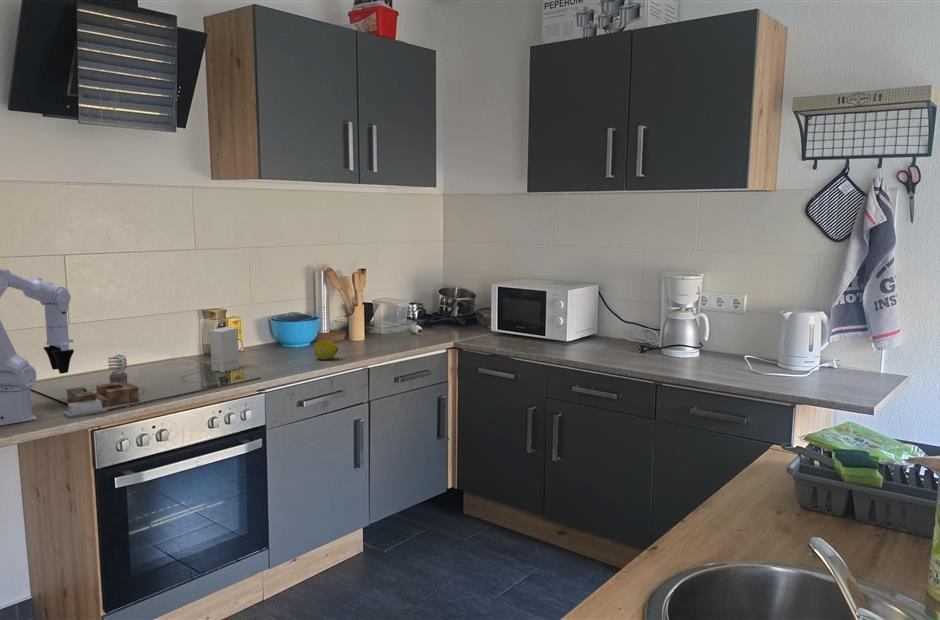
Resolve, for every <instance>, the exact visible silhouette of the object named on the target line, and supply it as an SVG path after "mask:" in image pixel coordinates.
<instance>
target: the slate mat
mask: <svg viewBox="0 0 940 620" xmlns="http://www.w3.org/2000/svg"><path fill="white" fill-rule="evenodd" d="M107 412H108V410H107V408H106V407H102V410H98V411H92V412H85V413H79V414H70V413H69V412H68V410H67V411H63V412H62V414H63V416H64V417H66V418H67V419H69V420H71V419H74V418H75V419H77V418H81V417H87V416H94V415H93V414H95V415H100V413H101V414H106V413H107Z"/></svg>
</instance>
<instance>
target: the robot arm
mask: <svg viewBox="0 0 940 620" xmlns="http://www.w3.org/2000/svg"><path fill="white" fill-rule="evenodd" d="M54 284H55V283H53V282H45V281H44V280H43V278H42V277H34V278H33V277H32V278H29V279H27V278H25V277H22V275H21V276H20V275H18V274H16V273H13V272H11V271H10V270H9V269H5V268H1V267H0V299H1V298H2V296H3V295H4V293H5V291H6V290H7V288H9V287H10V288H12V289H16V290H18V291H22V294H23V295H24V296H25V297H27V298H29V299H33V300H35V301H37V302H38V301H39V302H40V304H41V305H42V306H44V315H45V329H46V330H45V331H46V343H45V344H46V345H47V346H44V347H43V350H44V351H45V353H46V355H47V357H48V360H49V363H50V366H51V369H52V370H53V371H54V370H58V372H59V374H66V373H69V369H70V362H71V358H72V356H73V354H74V353H75V349H72V348H71V349H70V343H74V339H72V338H70V336H69V324H68V322H69V321H68V311H69V304H70V302H71V294H70V291H69V290H68V289H67V288H66V287H64V286H56V285H54ZM36 381H37V371H36V369H35V367H34V366H33V365H31V364H30V363H29V361H28V360H27V359H26V358H24V357H23V356H21V355H19V354H18V353H17V352H16V349H15V347H14V345H13V343H12V341H11V339H10V337H9V334H8V333H7V331H6V329H5V327H4V324H3V323H2V321H1V320H0V426H5V425H12V424H17V423H24V422H29V421H36V420H38V417H36V416H35V415H34V414H33V408H32V405H33V404H32V394H31V392H32V391H31V388H33V386H34V385H35V383H36Z"/></svg>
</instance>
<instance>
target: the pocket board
mask: <svg viewBox="0 0 940 620" xmlns="http://www.w3.org/2000/svg"><path fill="white" fill-rule="evenodd" d="M95 387H96V392H93V391H90V392H88V391H87V388H86V387H84V386H81V387H73V388H67V389H66V397H67V398H66V399H67V404H68V403H76V402H83V401H89V400H96V399H98V400H100V401H101V402H102V407H103V408H107V407H111V406H119V405H124V404H131V403H137V402H139V401H140V399H139V398H140V397H139V387H138V386H136V385H134V384H132V383H129V382H128V381H127V382H126V381H122V382H115V383H110V382H108V383H103V384H96V385H95Z"/></svg>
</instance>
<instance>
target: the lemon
mask: <svg viewBox="0 0 940 620" xmlns="http://www.w3.org/2000/svg"><path fill="white" fill-rule="evenodd" d="M338 352H339V346H338V345H337V344H336V343H335V342H333V341H332V340H330V339H329V340H328V339H321V340H318V341H316V343H315V344H314V347H313V354H314V356H315V357H316V358H317V359H318V360H321V361H327V360H331V359H332V358H334V357H335V356H336V355H337V353H338Z"/></svg>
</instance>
